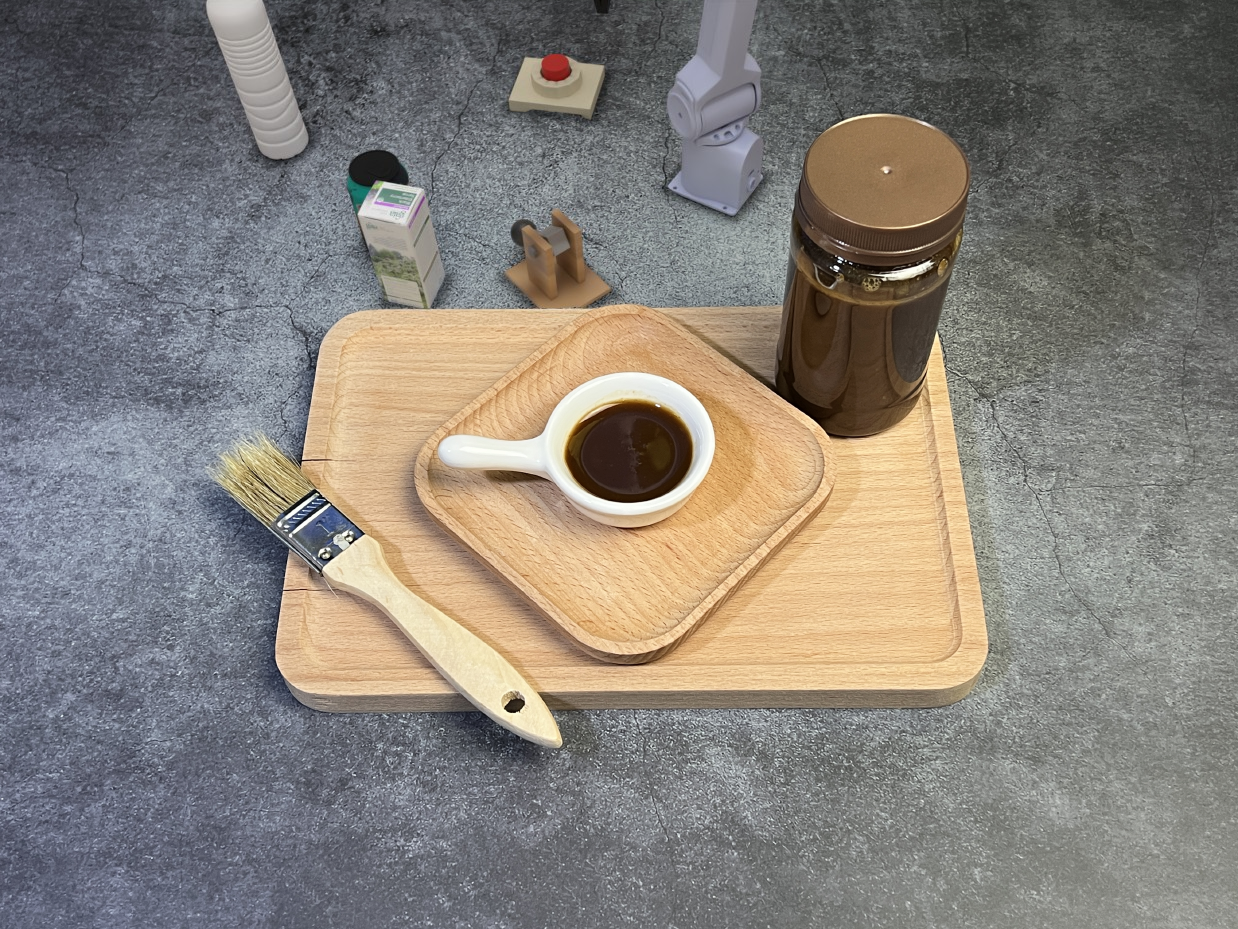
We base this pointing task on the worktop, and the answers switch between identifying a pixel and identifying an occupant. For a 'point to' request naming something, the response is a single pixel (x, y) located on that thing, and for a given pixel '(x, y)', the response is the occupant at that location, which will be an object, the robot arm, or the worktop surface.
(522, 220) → the lever
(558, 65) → the button
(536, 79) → the button box
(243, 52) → the water bottle
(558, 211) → the bracket
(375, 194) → the syrup box
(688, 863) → the worktop surface
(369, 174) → the teal lidded canister
